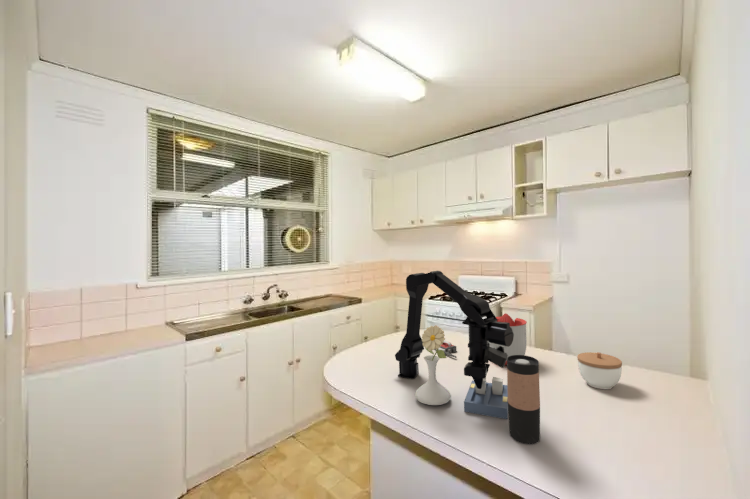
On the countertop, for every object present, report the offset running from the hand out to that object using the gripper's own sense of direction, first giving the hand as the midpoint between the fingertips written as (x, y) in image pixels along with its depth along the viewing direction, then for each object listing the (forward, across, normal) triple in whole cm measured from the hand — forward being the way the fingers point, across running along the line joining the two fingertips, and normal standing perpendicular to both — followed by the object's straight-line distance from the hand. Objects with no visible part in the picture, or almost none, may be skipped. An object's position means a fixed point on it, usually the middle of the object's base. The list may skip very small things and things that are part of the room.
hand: (479, 388), depth 105 cm
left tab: (+2, +3, 0) cm, 4 cm away
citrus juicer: (+4, +40, -6) cm, 40 cm away
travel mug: (+4, -15, -13) cm, 21 cm away
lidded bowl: (+4, +26, -36) cm, 44 cm away
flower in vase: (+4, -5, +13) cm, 15 cm away
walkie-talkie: (+5, +42, +20) cm, 47 cm away
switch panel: (+4, 0, -3) cm, 5 cm away
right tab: (+2, +4, -5) cm, 7 cm away
